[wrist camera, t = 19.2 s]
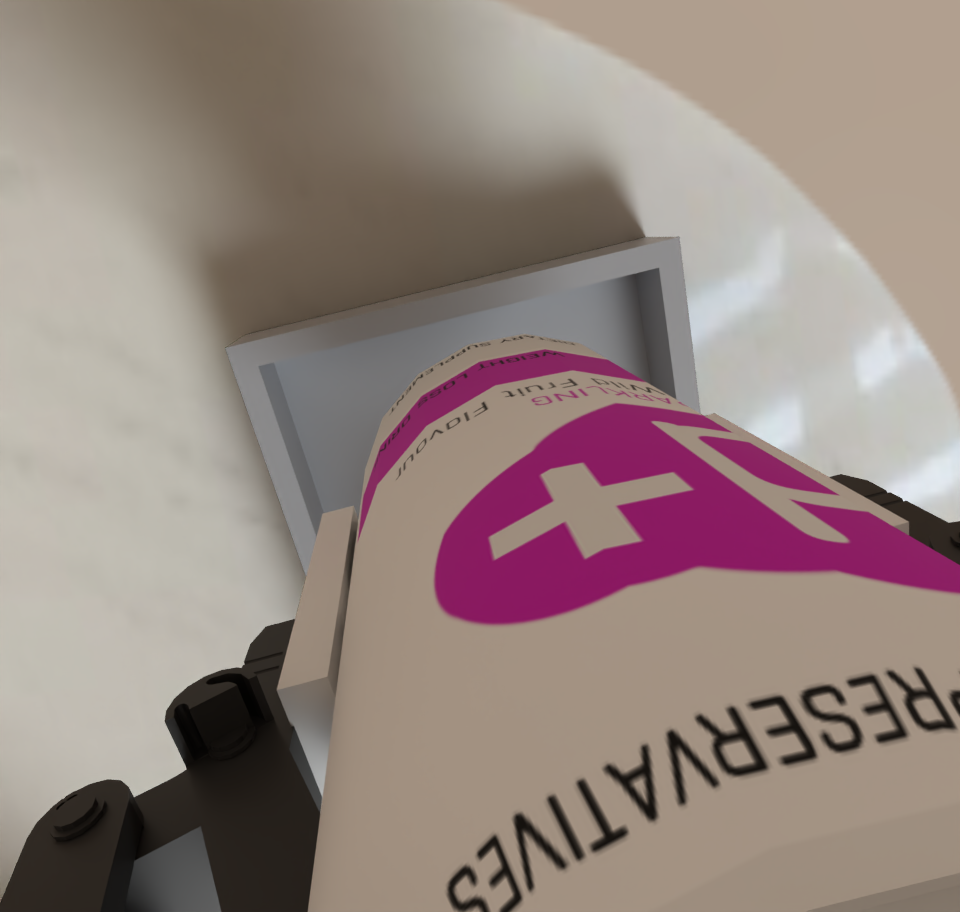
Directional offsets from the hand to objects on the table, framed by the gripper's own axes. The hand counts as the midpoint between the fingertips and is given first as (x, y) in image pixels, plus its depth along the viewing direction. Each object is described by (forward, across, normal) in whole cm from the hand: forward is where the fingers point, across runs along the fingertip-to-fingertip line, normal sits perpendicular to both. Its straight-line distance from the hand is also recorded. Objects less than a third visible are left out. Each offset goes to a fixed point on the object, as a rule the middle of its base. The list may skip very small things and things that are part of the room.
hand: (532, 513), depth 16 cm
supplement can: (+2, 0, 0) cm, 2 cm away
